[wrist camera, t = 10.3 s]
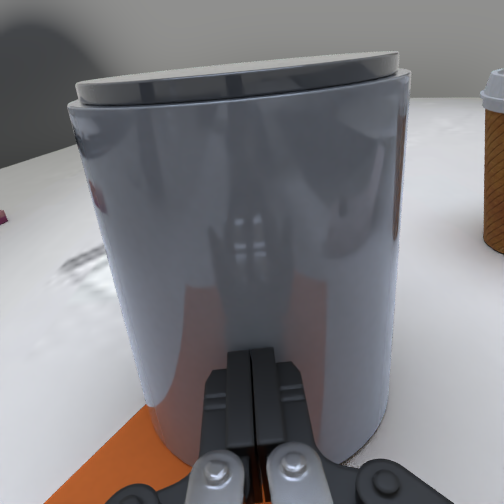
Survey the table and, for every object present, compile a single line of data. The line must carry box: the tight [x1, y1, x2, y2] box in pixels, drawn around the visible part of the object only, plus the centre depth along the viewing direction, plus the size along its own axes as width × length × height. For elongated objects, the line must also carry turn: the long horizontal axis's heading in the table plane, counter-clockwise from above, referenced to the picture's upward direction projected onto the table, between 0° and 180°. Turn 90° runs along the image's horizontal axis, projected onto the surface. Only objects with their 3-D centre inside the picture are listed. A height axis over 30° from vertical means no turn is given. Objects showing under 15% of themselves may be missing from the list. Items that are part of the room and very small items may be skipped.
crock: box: [67, 51, 411, 484], centre depth 18 cm, size 12×12×15 cm
